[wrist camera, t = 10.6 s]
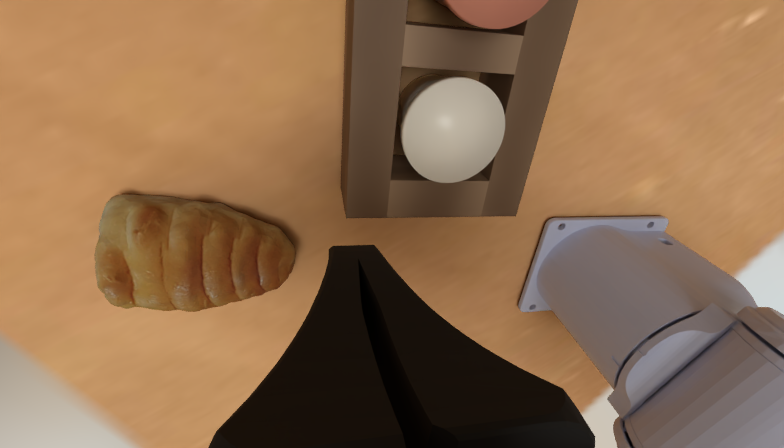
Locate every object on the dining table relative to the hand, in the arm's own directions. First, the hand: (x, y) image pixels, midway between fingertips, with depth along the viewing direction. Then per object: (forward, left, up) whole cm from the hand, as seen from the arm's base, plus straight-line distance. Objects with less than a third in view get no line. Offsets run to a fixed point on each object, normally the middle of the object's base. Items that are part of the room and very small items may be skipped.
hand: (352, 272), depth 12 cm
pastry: (+7, +5, -11) cm, 14 cm away
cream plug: (-5, -3, -10) cm, 12 cm away
